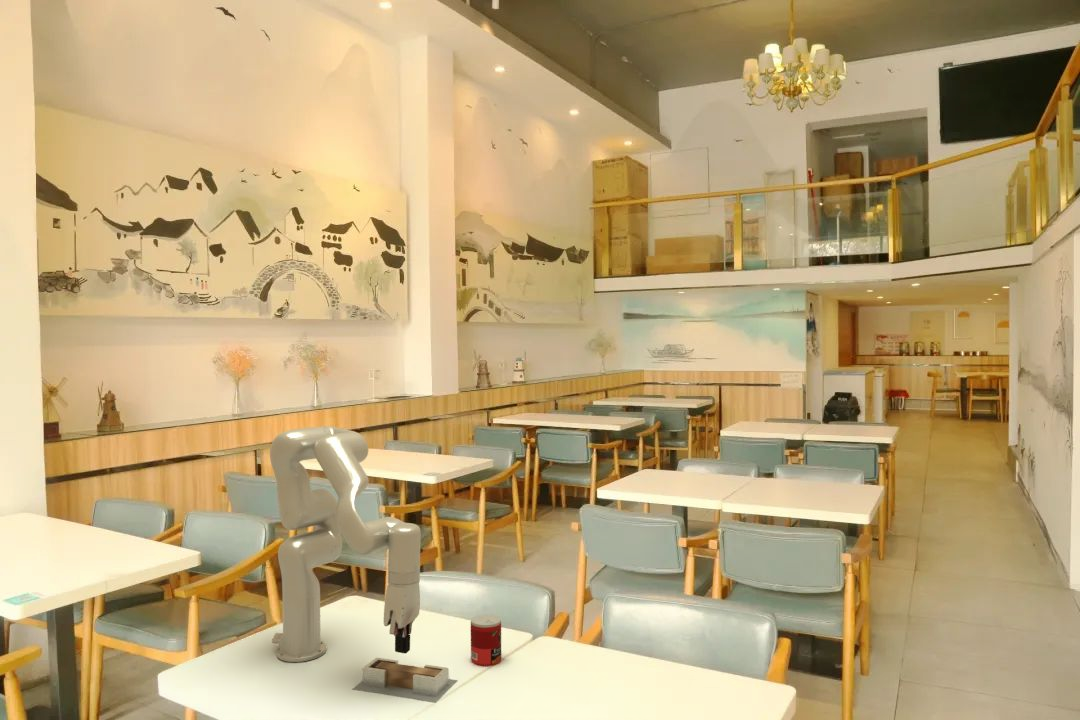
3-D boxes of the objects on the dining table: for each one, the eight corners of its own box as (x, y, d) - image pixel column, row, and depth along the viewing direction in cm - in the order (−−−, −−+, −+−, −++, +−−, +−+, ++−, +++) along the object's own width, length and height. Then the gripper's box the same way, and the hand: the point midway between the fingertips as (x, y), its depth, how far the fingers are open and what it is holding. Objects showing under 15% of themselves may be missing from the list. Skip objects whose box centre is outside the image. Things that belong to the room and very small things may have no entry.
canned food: (497, 669, 187) (497, 625, 187) (467, 666, 189) (466, 623, 189) (504, 656, 195) (504, 615, 195) (475, 654, 197) (475, 613, 196)
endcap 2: (448, 684, 178) (448, 667, 178) (436, 696, 172) (436, 679, 172) (426, 681, 180) (426, 664, 180) (413, 693, 174) (412, 676, 174)
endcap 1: (362, 684, 178) (362, 668, 178) (376, 673, 184) (376, 657, 184) (384, 688, 176) (384, 671, 176) (398, 676, 182) (398, 660, 182)
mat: (351, 690, 176) (351, 689, 176) (378, 669, 187) (378, 668, 187) (435, 704, 169) (435, 702, 169) (457, 681, 180) (457, 680, 180)
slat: (374, 683, 179) (374, 666, 179) (381, 677, 182) (381, 661, 182) (434, 692, 174) (434, 675, 174) (440, 686, 177) (440, 670, 177)
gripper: (405, 565, 186) (403, 637, 187) (373, 583, 172) (372, 661, 173) (432, 568, 184) (430, 641, 184) (402, 588, 170) (400, 667, 170)
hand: (402, 651), depth 178 cm, fingers closed
